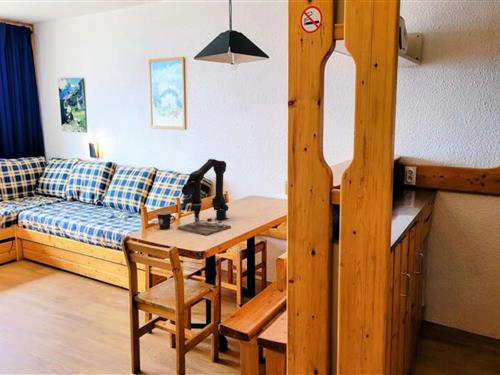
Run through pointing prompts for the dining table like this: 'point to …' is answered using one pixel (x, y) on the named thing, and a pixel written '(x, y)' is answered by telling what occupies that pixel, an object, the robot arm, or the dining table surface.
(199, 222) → the lever
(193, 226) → the nutcracker board
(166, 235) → the dining table surface
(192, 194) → the robot arm
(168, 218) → the coffee mug
